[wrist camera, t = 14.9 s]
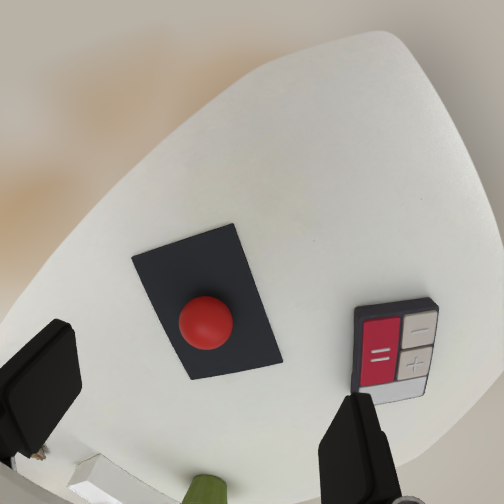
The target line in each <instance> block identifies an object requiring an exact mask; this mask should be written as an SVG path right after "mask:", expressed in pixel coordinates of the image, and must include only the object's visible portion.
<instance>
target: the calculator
mask: <svg viewBox="0 0 504 504" xmlns="http://www.w3.org/2000/svg"><path fill="white" fill-rule="evenodd" d="M438 314H439V306H438V305H437V304H436V303H435V302H434V301H433V300H432V299H431V298H422V299H415V300H408V301H401V302H393V303H386V304H378V305H370V306H361V307H356V308H355V311H354V354H353V373H352V378H351V394H352V393H353V392H361V393H369V394H370V395H371V397H372V400H373V403H374V405H378V404H384V403H390V402H395V401H400V400H405V399H410V398H415V397H420V396H423V395H424V393H425V389H426V384H427V380H428V375H429V370H430V365H431V360H432V354H433V348H434V342H435V336H436V329H437V322H438Z"/></svg>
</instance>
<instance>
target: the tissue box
mask: <svg viewBox="0 0 504 504" xmlns="http://www.w3.org/2000/svg"><path fill="white" fill-rule="evenodd" d="M67 487H68V488H69V489H71V490H72V491H74V492H75V493H77V494H78V495H80V496H81V497H83V498H84V499H86V500H87V501H89V502H90V503H92V504H181V503H179V502H177V501H175V500H173V499H171V498H169V497H168V496H166V495H164V494H162V493H160V492H159V491H157V490H155V489H154V488H152V487H150V486H148V485H147V484H145V483H144V482H142V481H140V480H139V479H137V478H135V477H134V476H132V475H131V474H129V473H128V472H126V471H125V470H123V469H122V468H120V467H119V466H117V465H116V464H114V463H113V462H111V461H110V460H109V459H107V458H106V457H104V456H103V455H102V454H100V455H98V456H96V457H93V458H91V459H89V460H87V461H85V462H83V463H80V464H79V465H78V467H77V469H76V471H75V472H74V474H73V476H72V478H71V480H70V482H69V483H68V485H67Z"/></svg>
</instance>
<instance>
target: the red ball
mask: <svg viewBox="0 0 504 504" xmlns="http://www.w3.org/2000/svg"><path fill="white" fill-rule="evenodd" d="M179 328H180V331H181V334H182V336H183V337H184V339H185V340H186V341H187V342H188V343H189V344H190V345H192V346H193V347H195V348H198V349H203V350H210V349H215V348H217V347H219V346H221V345H222V344H224V343H225V342H226V341H227V340H228V338H229V337H230V335H231V332H232V329H233V318H232V314H231V312H230V310H229V308H228V307H227V306H226V305H225V304H224V303H223V302H222V301H220V300H219V299H217V298H214V297H210V296H201V297H197V298H195V299H192V300H191V301H189V302H188V303H187V304H186V305H185V306H184V308H183V309H182V311H181V314H180V317H179Z"/></svg>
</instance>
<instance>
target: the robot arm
mask: <svg viewBox="0 0 504 504" xmlns="http://www.w3.org/2000/svg"><path fill="white" fill-rule="evenodd" d="M81 389H82V380H81V374H80V368H79V361H78V354H77V347H76V338H75V331H74V330H73V329H72V327H71V325H70V324H69V323H67V322H64V321H62V320H59V319H54V320H53V321H51V322H50V323H49V324H48V325H47V326H46V327H45V328H43V329H42V330H41V331H40V332H39V333H38V334H37V335H36V336H35V337H33V338H32V339H31V340H30V341H29V342H28V343H27V344H26V345H25V346H24V347H23V348H21V349H20V350H19V351H18V352H17V353H16V354H15V355H14V356H13V357H12V358H11V359H10V360H9V361H8V362H7V363H6V364H4V365H3V366H2V367H1V368H0V504H73V503H71V502H69V501H67V500H65V499H63V498H61V497H59V496H57V495H55V494H53V493H51V492H49V491H48V490H46V489H44V488H42V487H40V486H39V485H37V484H35V483H34V482H32V481H30V480H29V479H27V478H25V477H24V476H22V475H20V474H19V473H17V468H16V462H15V454H16V453H17V452H19V453H21V454H22V455H24V456H26V457H27V458H29V459H30V457H31V456H32V454H33V453H34V454H36V453H38V452H39V450H40V449H41V447H42V446H43V444H44V443H45V441H46V440H47V439H48V437H49V436H50V434H51V433H52V431H53V430H54V428H55V427H56V426H57V424H58V423H59V421H60V420H61V418H62V417H63V416H64V414H65V413H66V411H67V410H68V409H69V407H70V406H71V404H72V403H73V402H74V400H75V399H76V397H77V396H78V395H79V393H80V392H81ZM318 457H319V472H320V488H321V504H425V503H424V502H423V501H422V500H420V499H419V498H416V497H414V496H404V497H402V494H401V489H400V485H399V481H398V477H397V473H396V470H395V466H394V462H393V458H392V454H391V451H390V447H389V443H388V440H387V437H386V434H385V433H384V432H383V431H381V428H380V424H379V421H378V417H377V414H376V410H375V407H374V403H373V400H372V397H371V395H370V394H369V393H361V392H353V393H352V394H351V395H350V396H349V395H347V396H346V397H345V398H344V400H343V402H342V404H341V406H340V408H339V410H338V412H337V414H336V415H335V417H334V419H333V421H332V423H331V425H330V426H329V428H328V430H327V432H326V433H325V435H324V437H323V439H322V440H321V442H320V444H319V448H318Z"/></svg>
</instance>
